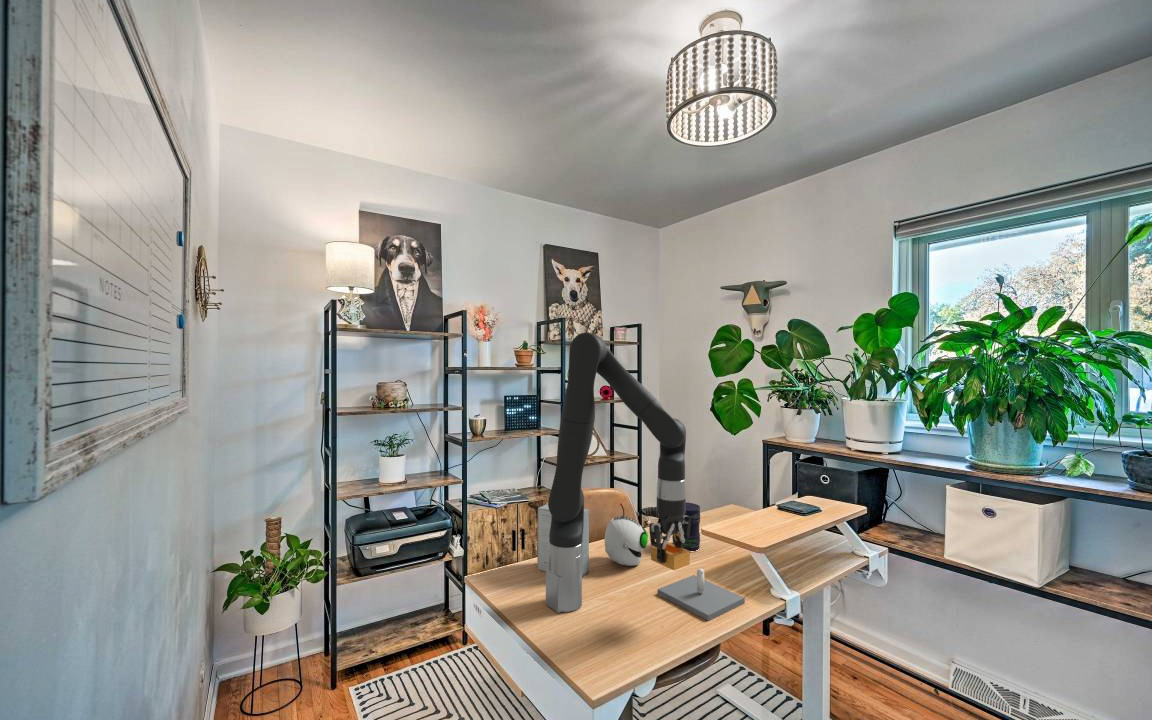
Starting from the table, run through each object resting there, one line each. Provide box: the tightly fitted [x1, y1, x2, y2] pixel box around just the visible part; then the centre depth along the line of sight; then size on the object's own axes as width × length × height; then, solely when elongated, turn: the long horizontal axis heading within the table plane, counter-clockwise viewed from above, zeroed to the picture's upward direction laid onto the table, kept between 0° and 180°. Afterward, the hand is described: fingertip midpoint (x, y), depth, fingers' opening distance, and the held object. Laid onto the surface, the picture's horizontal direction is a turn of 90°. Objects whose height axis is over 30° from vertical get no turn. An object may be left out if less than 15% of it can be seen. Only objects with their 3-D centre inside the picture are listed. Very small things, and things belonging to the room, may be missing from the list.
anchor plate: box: [657, 568, 746, 622], centre depth 139 cm, size 16×18×8 cm
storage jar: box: [671, 502, 701, 552], centre depth 177 cm, size 10×10×15 cm
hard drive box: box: [536, 503, 590, 577], centre depth 156 cm, size 16×8×20 cm, turn 59°
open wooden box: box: [650, 541, 691, 571], centre depth 128 cm, size 6×8×4 cm
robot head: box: [604, 503, 649, 567], centre depth 162 cm, size 16×14×20 cm
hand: (670, 559), depth 128 cm, fingers closed on open wooden box, 6 cm apart
